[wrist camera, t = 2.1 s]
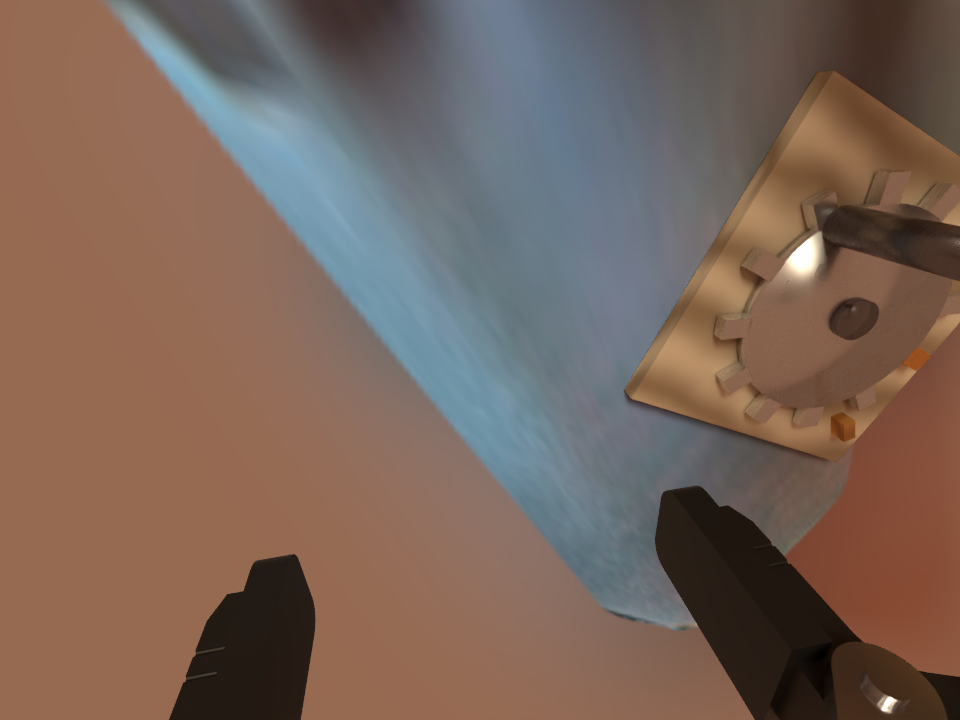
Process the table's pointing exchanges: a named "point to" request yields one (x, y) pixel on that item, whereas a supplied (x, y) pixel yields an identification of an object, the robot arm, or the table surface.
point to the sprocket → (845, 300)
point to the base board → (772, 226)
